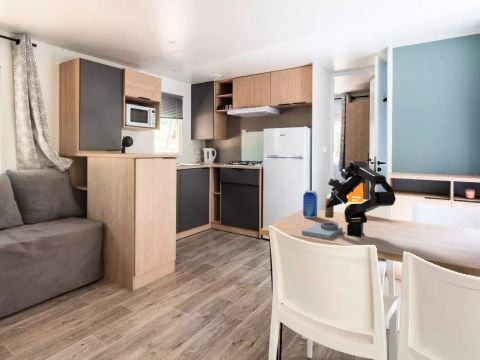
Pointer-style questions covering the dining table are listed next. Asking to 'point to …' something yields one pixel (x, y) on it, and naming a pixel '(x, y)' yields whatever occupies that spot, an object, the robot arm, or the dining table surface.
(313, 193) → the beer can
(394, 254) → the dining table surface
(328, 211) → the walnut peg
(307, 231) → the slate board
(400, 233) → the dining table surface
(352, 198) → the orange juice
